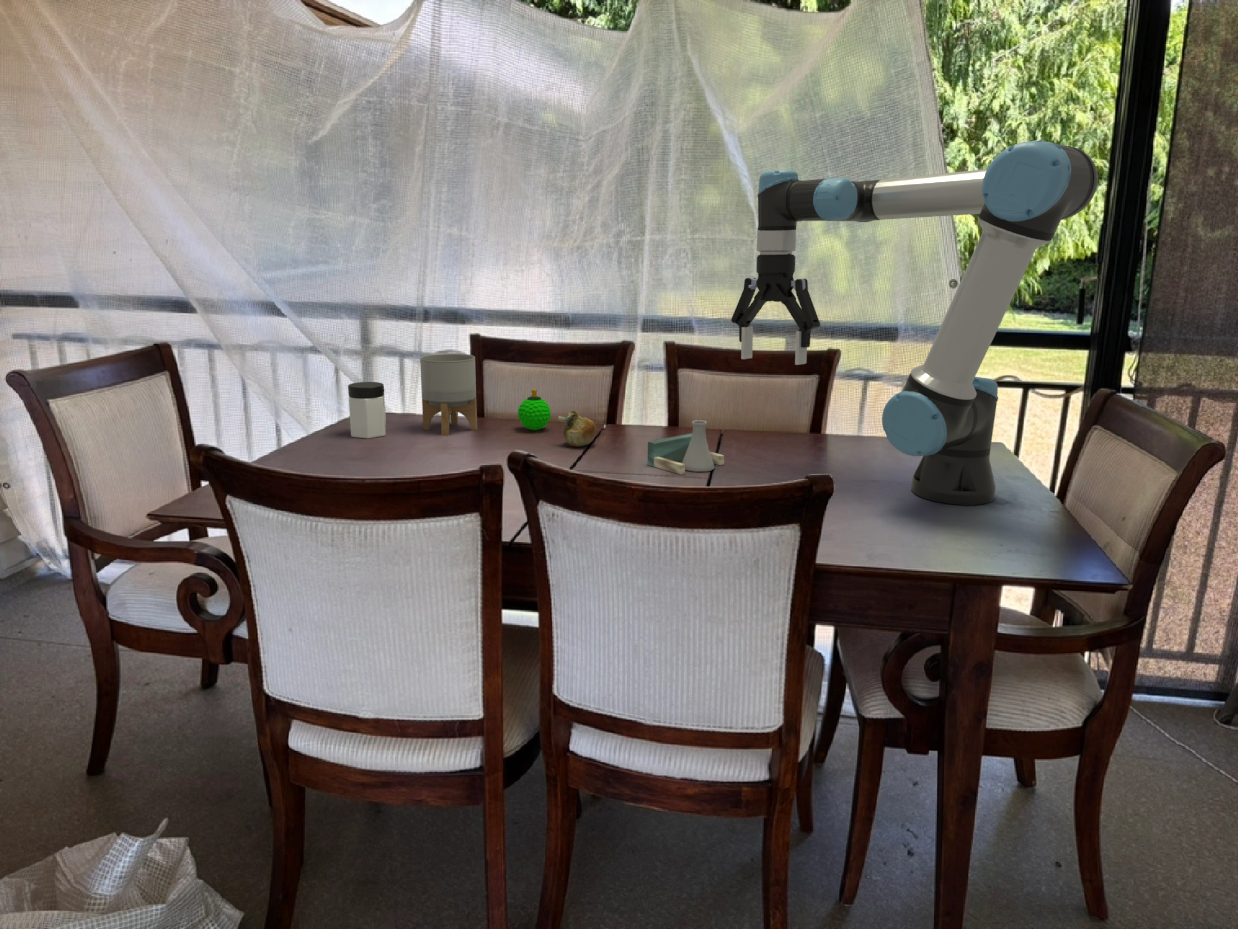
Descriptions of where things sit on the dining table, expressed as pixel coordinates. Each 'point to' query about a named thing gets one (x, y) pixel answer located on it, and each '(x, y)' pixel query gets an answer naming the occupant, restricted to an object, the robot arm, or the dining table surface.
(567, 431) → the onion
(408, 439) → the dining table surface
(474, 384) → the planter
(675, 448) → the pocket
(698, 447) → the flask
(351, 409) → the jar
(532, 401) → the ornament
